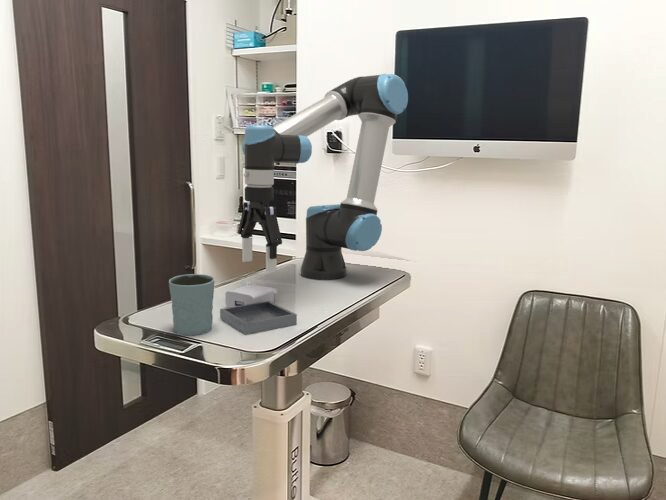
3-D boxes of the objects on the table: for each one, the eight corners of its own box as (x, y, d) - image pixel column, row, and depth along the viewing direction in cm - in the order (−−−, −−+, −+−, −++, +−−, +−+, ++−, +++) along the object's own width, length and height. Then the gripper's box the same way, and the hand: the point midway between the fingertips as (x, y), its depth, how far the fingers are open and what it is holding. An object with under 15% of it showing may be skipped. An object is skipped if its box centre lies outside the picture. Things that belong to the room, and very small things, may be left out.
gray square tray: (269, 310, 143) (269, 300, 143) (296, 324, 133) (296, 314, 132) (220, 318, 136) (220, 309, 135) (245, 334, 125) (245, 324, 124)
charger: (287, 300, 154) (253, 313, 141) (260, 294, 158) (225, 307, 146) (287, 283, 153) (253, 295, 140) (260, 278, 157) (225, 290, 145)
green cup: (207, 320, 135) (205, 272, 132) (222, 332, 126) (221, 281, 124) (165, 326, 129) (163, 277, 127) (178, 340, 121) (176, 286, 119)
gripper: (225, 183, 152) (226, 258, 156) (269, 190, 132) (269, 276, 136) (250, 182, 156) (250, 256, 160) (296, 189, 136) (295, 273, 140)
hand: (258, 266), depth 148 cm, fingers open, 13 cm apart
